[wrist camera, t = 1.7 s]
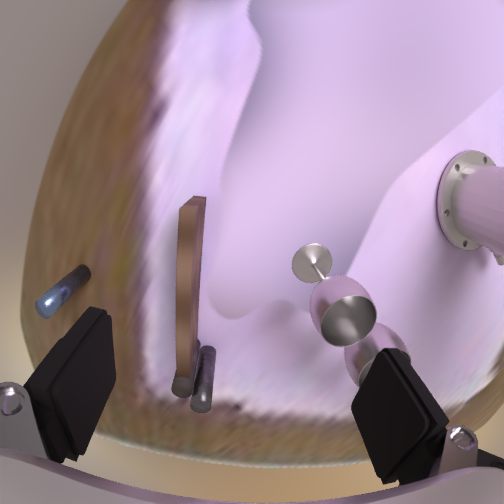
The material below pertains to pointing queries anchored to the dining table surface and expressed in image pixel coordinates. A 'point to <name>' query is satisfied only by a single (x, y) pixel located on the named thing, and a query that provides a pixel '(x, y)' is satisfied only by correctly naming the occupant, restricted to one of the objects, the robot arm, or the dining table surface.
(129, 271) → the dining table surface
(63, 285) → the grey upright cylinders
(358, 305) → the goblet set
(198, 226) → the gate
